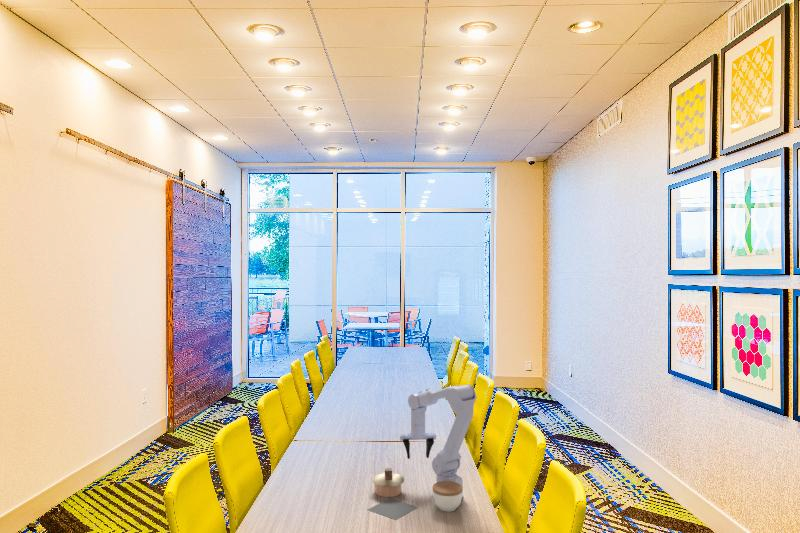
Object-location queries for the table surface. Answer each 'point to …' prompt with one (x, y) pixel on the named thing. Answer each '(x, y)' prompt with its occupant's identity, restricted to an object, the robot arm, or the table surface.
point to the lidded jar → (447, 495)
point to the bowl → (388, 490)
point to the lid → (388, 479)
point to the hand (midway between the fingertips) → (417, 457)
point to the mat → (392, 508)
